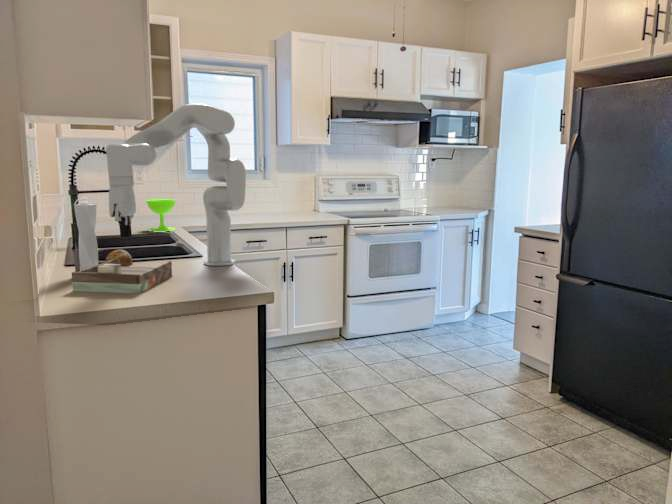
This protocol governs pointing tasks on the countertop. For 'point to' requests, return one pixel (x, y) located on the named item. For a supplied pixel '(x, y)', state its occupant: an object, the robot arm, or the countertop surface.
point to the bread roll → (120, 257)
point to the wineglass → (161, 211)
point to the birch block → (109, 268)
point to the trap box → (120, 278)
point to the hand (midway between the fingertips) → (126, 236)
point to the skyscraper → (86, 235)
